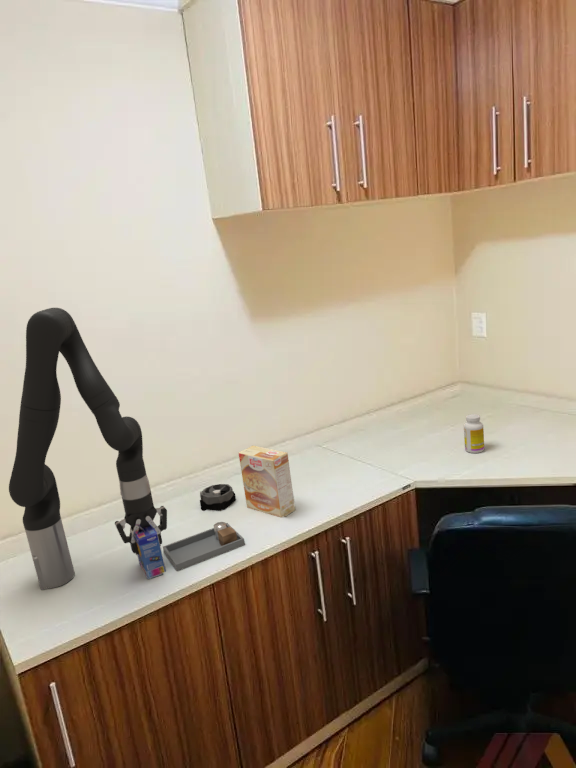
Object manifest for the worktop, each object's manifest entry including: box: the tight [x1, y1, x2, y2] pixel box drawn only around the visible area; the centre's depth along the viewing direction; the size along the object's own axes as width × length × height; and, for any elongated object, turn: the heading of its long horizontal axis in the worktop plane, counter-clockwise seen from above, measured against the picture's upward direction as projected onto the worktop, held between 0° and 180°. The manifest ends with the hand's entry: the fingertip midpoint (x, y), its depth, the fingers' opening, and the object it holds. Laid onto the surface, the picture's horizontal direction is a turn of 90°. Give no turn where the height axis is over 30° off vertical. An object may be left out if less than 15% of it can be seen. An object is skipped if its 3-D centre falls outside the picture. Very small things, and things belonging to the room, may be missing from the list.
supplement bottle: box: [463, 413, 485, 454], centre depth 208 cm, size 7×7×13 cm
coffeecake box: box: [238, 445, 296, 518], centre depth 183 cm, size 15×7×20 cm, turn 49°
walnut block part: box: [217, 526, 237, 546], centre depth 166 cm, size 4×4×4 cm
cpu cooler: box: [199, 483, 237, 512], centre depth 192 cm, size 10×6×10 cm
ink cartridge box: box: [135, 525, 167, 580], centre depth 158 cm, size 10×6×14 cm, turn 27°
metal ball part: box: [213, 521, 227, 540], centre depth 170 cm, size 4×4×4 cm
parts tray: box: [162, 522, 246, 572], centre depth 165 cm, size 20×12×2 cm, turn 119°
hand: (147, 549), depth 158 cm, fingers closed on ink cartridge box, 5 cm apart
